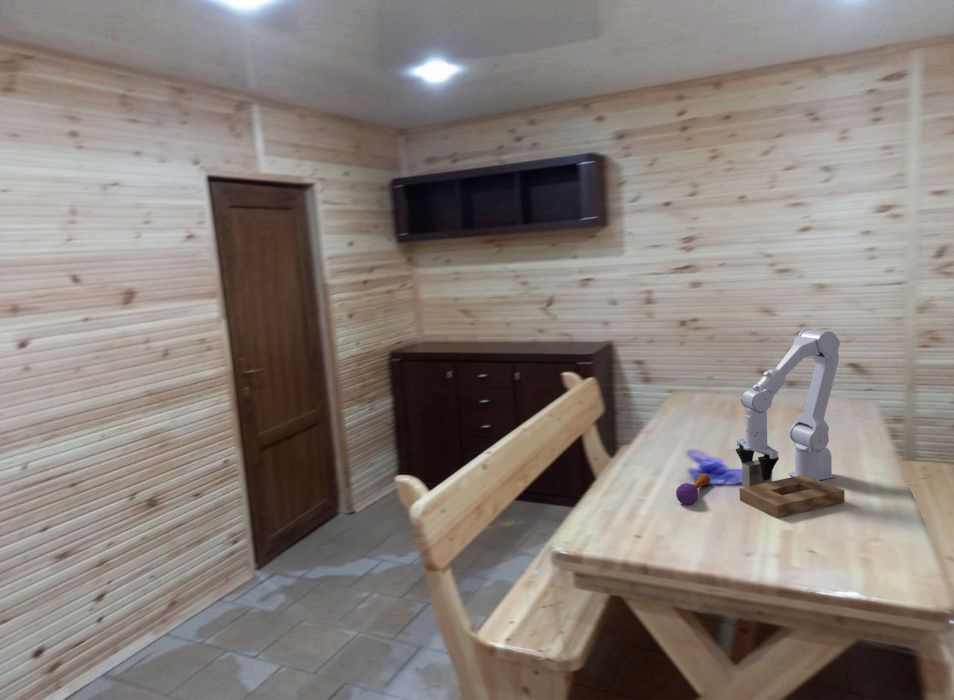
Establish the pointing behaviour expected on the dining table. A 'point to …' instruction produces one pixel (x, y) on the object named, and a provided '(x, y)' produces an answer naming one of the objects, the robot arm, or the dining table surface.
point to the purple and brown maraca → (691, 490)
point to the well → (791, 496)
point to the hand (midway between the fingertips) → (757, 475)
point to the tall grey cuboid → (752, 474)
